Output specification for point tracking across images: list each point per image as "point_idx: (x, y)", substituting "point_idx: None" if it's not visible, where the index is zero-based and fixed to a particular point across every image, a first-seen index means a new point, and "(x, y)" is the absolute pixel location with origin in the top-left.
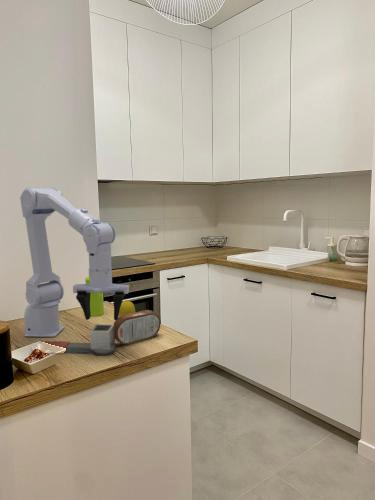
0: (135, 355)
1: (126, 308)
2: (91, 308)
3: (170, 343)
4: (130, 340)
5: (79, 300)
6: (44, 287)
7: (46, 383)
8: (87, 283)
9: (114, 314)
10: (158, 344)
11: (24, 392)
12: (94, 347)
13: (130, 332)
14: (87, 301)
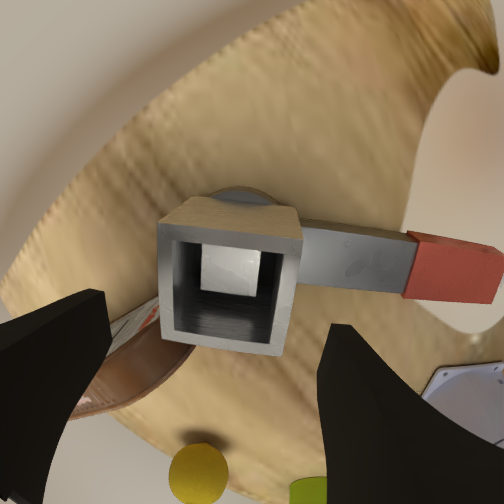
0: (101, 191)
1: (188, 480)
2: (323, 495)
3: (32, 285)
4: (139, 311)
5: (488, 455)
6: None
7: None
8: None
9: (67, 306)
10: (56, 282)
11: None
12: (275, 207)
13: (122, 329)
14: (359, 485)
